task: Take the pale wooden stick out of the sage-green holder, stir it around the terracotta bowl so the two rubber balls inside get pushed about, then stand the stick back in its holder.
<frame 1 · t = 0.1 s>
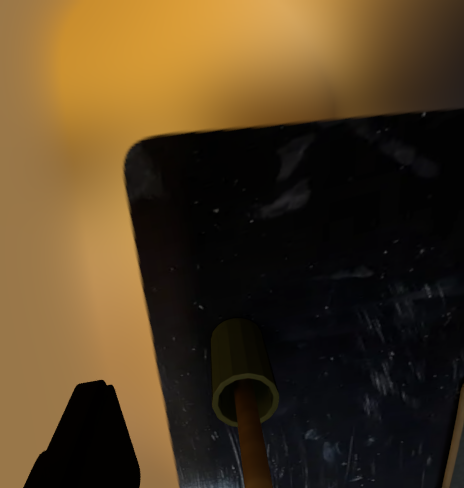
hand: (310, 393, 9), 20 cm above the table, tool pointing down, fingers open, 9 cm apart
holder: (236, 340, 32), on the table
stick: (237, 344, 31), resting on holder
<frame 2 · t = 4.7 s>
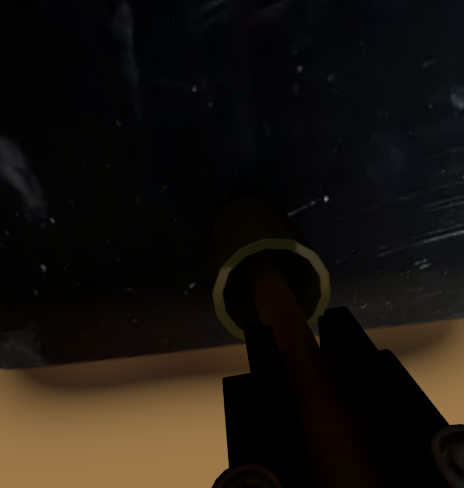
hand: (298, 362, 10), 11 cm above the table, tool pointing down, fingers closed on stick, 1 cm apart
holder: (250, 236, 21), on the table
stick: (251, 238, 20), resting on holder, touching gripper
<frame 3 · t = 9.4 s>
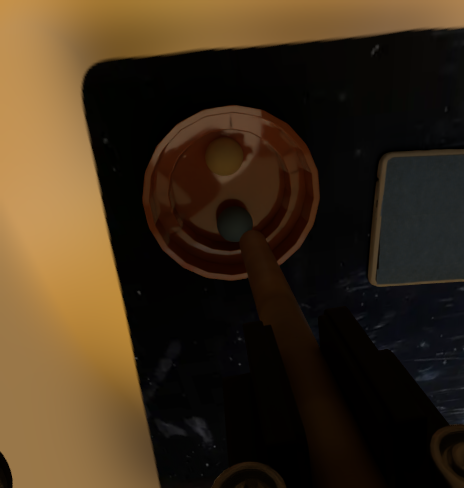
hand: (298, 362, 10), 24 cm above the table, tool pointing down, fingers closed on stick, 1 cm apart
ball a: (224, 156, 30), point 2 cm above the table, touching bowl
bowl: (228, 186, 33), on the table
ball b: (234, 224, 32), point 2 cm above the table, touching bowl
stick: (251, 239, 20), point 13 cm above the table, touching gripper
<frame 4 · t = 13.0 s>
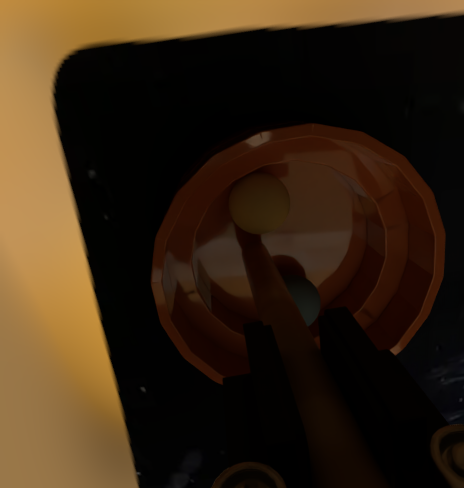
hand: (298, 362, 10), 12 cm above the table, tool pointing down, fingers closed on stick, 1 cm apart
ball a: (259, 203, 19), point 2 cm above the table, tilted 16°, touching bowl
bowl: (279, 242, 21), on the table
ball b: (292, 302, 21), point 2 cm above the table, touching bowl
stick: (253, 250, 20), point 1 cm above the table, touching gripper
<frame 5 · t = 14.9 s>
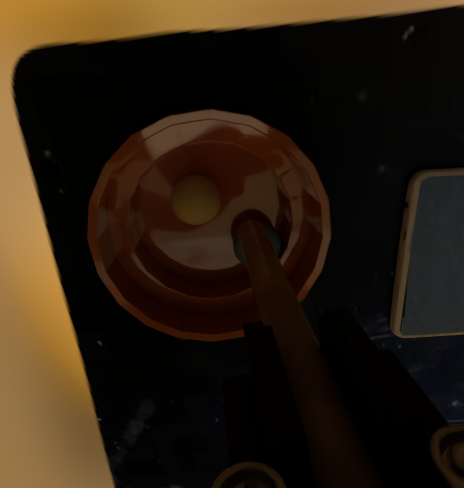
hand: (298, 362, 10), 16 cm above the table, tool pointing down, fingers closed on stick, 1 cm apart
ball a: (195, 199, 23), point 2 cm above the table, tilted 41°, touching bowl
bowl: (210, 213, 25), on the table
ball b: (256, 244, 24), point 2 cm above the table, tilted 22°, touching bowl
stick: (249, 228, 20), point 5 cm above the table, touching gripper
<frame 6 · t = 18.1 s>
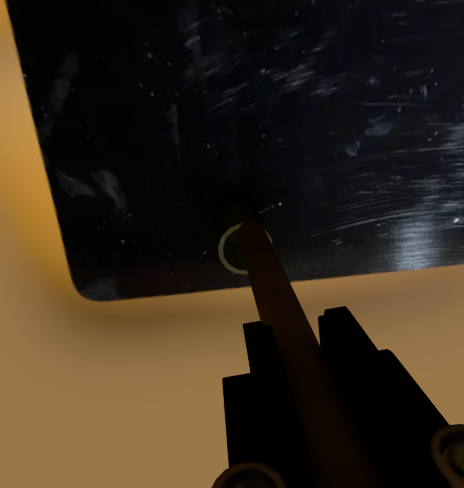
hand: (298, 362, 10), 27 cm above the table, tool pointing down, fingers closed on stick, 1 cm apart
holder: (238, 224, 37), on the table
stick: (249, 228, 20), point 16 cm above the table, touching gripper
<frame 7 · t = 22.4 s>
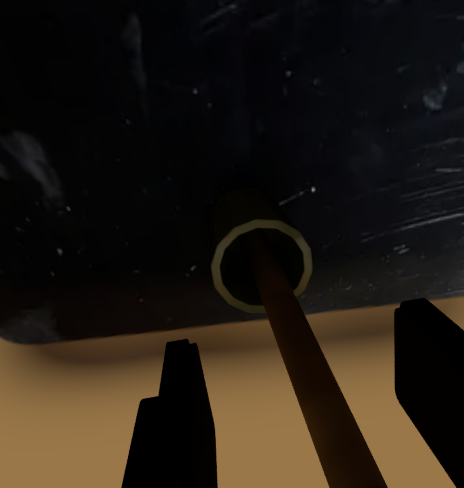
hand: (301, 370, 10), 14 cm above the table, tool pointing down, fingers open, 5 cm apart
holder: (245, 223, 23), on the table
stick: (243, 216, 22), point 1 cm above the table, tilted 14°, touching holder
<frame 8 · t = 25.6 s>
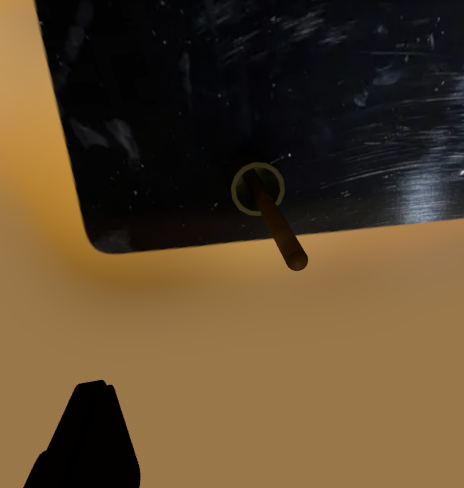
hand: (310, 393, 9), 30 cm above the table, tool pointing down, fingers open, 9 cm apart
holder: (248, 175, 38), on the table
stick: (247, 170, 37), point 1 cm above the table, tilted 14°, touching holder
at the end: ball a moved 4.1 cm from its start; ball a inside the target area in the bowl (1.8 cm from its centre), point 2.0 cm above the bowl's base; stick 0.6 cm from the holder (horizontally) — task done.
